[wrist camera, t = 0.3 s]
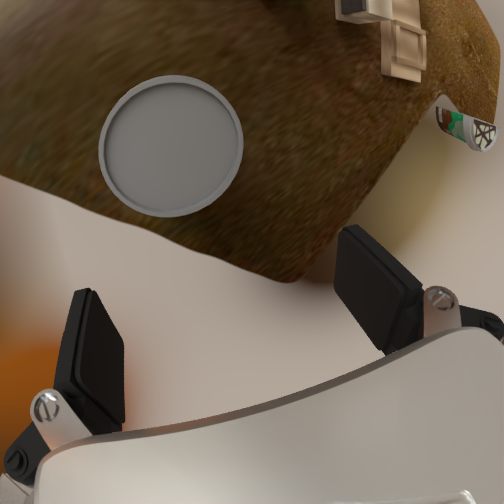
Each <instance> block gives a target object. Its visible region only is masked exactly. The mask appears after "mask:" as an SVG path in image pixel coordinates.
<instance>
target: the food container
mask: <svg viewBox="0 0 504 504" xmlns="http://www.w3.org/2000/svg"><path fill="white" fill-rule="evenodd" d="M436 117H437V122H438V124H439V126H440V128H441V129H442V130H443V131H444V132H446V133H448V134H450V135H452V136H454V137H456V138H458V139H460V140H462V141H464V142H466V143H467V144H468V145H469V147H470V148H471V149H473V150H476V151H487V150H489V149H490V148H491V147H492V146H493V145H494V143H495V141H496V139H497V136H498V133H499V127H498V126H495V125H493V124H490V123H487V122H485V121H482V120H479V119H477V118H474V117H471V116H468V115H465V114H462V113H458V112H455V111H451V110H448V109H444V108H440V107H436Z"/></svg>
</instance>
